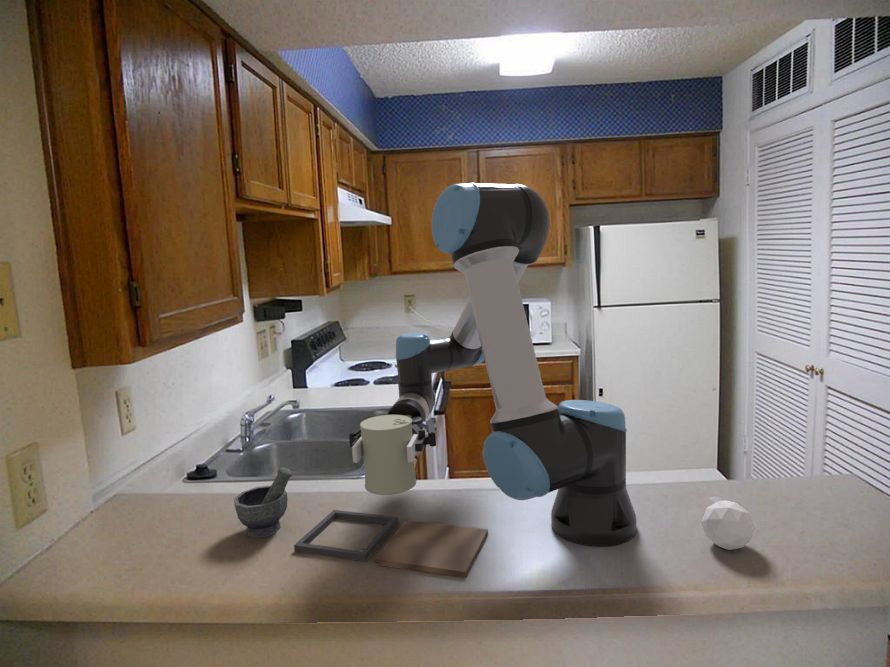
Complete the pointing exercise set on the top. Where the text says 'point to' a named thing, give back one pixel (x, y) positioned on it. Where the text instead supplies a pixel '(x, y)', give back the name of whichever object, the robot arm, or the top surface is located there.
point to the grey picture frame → (340, 552)
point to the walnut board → (433, 548)
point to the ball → (728, 525)
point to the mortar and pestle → (263, 506)
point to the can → (387, 454)
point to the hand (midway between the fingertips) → (381, 454)
